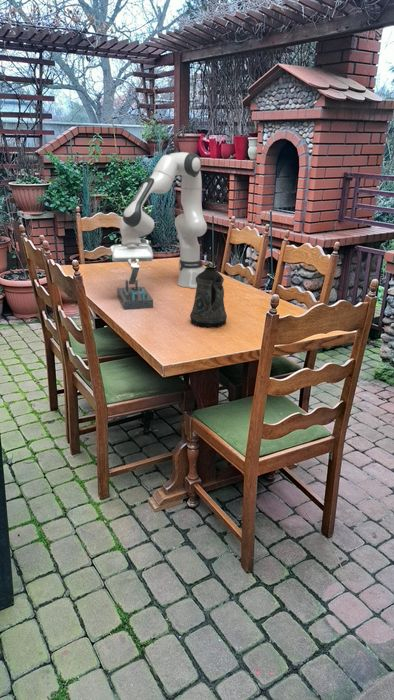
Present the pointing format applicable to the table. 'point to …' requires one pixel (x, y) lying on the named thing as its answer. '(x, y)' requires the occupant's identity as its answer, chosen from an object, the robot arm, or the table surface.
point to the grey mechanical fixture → (134, 297)
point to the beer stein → (209, 300)
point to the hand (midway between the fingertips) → (134, 268)
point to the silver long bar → (133, 274)
